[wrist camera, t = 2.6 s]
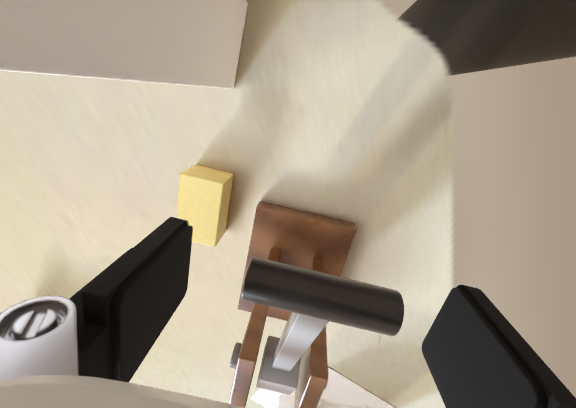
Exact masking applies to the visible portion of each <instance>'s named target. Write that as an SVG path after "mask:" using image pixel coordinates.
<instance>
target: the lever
mask: <svg viewBox="0 0 576 408" xmlns="http://www.w3.org/2000/svg"><path fill="white" fill-rule="evenodd" d="M241 299H242V300H244V301H248V302H252V303H256V304H260V305H264V306H269V307H273V308H277V309H281V310H285V311H289V312H292V313H291V315H290V317H289V319H288V322H287V324H286V326H285V329H284V331H283V333H282V335H281V338H277V337H273V336H269V337H268V339H267V343H266V346H265V349H264V354H263V358H262V363H261V367H260V372H259V377H258V381H257V387H258V388H262V389H266V390H270V391H274V392H278V393H282V394H286V395H290V394H291V393H292V392H293V391H295V390H296V389H297V385H298V378H299V370H300V363H301V357H302V355H303V354H304V353H305V351H306V350H307V349H308V348H309V346H310V345H311V344H312V342H313V341H314V340H315V339H316V337H317V336H318V335H319V333H320V332H321V331H322V330H323V328H324V327H325V326H326V324H327V323H328V322H329V321H331V322H335V323H339V324H343V325H347V326H352V327H356V328H360V329H364V330H368V331H372V332H377V333H381V334H385V335H389V336H394V335H396V334H397V333H398V332H399V330H400V328H401V325H402V322H403V316H404V304H403V299H402V296H401V294H400V293H399V292H398V291H396V290H393V289H389V288H384V287H380V286H376V285H372V284H368V283H363V282H359V281H355V280H351V279H347V278H343V277H338V276H334V275H330V274H326V273H322V272H317V271H313V270H309V269H305V268H301V267H297V266H292V265H288V264H284V263H280V262H276V261H271V260H267V259H263V258H259V257H255V256H254V257H252V259H251V261H250V263H249V266H248V269H247V273H246V276H245V280H244V284H243V289H242V295H241Z"/></svg>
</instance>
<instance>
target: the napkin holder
mask: <svg viewBox="0 0 576 408" xmlns="http://www.w3.org/2000/svg"><path fill="white" fill-rule="evenodd" d="M328 371H329V372H328V382H327V386H326V388H325V390H323V393H322V395H321V398H320V400H319V403H318V405H317V408H394V407H393V406H391V405H390V404H388V403H386V402H385V401H383V400H381V399H380V398H378V397H376V396H375V395H373V394H371V393H370V392H368V391H367V390H365V389H363V388H362V387H360V386H358V385H357V384H355V383H353V382H352V381H350V380H349V379H347V378H345V377H344V376H342V375H340V374H339V373H337V372H335V371H334V370H332V369H330V368H329V367H328ZM250 399H252V400H254V401H256V402H257V403H259V404H261V405H263V406H264V407H266V408H294V402H295V391H293V392H292V393H291V394H290V395H286V394H282V393H278V392H274V391H270V390H266V389H262V388H260V389H259V390H258V391H257V392H256V393H255V394H254V395H253V396H252V397H250Z"/></svg>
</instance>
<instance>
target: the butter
mask: <svg viewBox="0 0 576 408" xmlns="http://www.w3.org/2000/svg"><path fill="white" fill-rule="evenodd" d="M233 176H234V174H232V173H228V172H223V171H219V170H215V169H211V168H207V167H202V166H198V165H194V166H192V167H190V168H189V169H187V170H185V171H183V172H182V173H180V179H179V194H178V209H177V218H178V219H182V220H187V221H188V223H189V225H190V226H192V227H193V234H192V242H196V243H200V244H205V245H209V246H213V247H215V246H216V245H217V243H218V242H219V240H220V239H221V237H222V236H223V234H224V233H225V231H226V224H227V217H228V210H229V203H230V196H231V189H232V182H233Z"/></svg>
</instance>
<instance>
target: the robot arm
mask: <svg viewBox="0 0 576 408" xmlns="http://www.w3.org/2000/svg"><path fill="white" fill-rule="evenodd" d="M192 234H193V227H192V226H190V225H189V223H188V221H187V220H182V219H178V218H174V217H170V218H169V219H167V220H166V221H165V222H164V223H163V224H161V225H160V226H159V227H158V228H157V229H155V230H154V231H153V232H152V233H151V234H149V235H148V236H147V237H146V238H145V239H143V240H142V241H141V242H140V243H139V244H137V245H136V246H135V247H134V248H131V249H130V250H128V251H127V252H126V253H124V254H123V255H122V256H121V257H120V258H118V259H117V260H116V261H115V262H113V263H112V264H111V265H110V266H109V267H107V268H106V269H105V270H104V271H103V272H101V273H100V274H99V275H98V276H96V277H95V278H94V279H93V280H92V281H90V282H89V283H88V284H87V285H86V286H84V287H83V288H82V289H81V290H79V291H78V292H77V293H76V294H75V295H73V296H72V297H71V298H70V299H68V298H65V297H62V296H41V297H35V298H32V299H28V300H24V301H22V302H20V303H17V304H15V305H13V306H11V307H9V308H7V309H6V310H4V311H3V312H1V313H0V408H245V407H240V406H236V405H232V404H227V403H223V402H218V401H214V400H210V399H205V398H201V397H196V396H192V395H187V394H182V393H177V392H172V391H168V390H163V389H158V388H153V387H148V386H144V385H139V384H134V383H129V381H130V380H131V378H132V376H133V375H134V373H135V372H136V370H137V369H138V367H139V366H140V364H141V363H142V361H143V360H144V358H145V356H146V355H147V353H148V352H149V350H150V349H151V347H152V346H153V344H154V343H155V341H156V339H157V338H158V336H159V335H160V333H161V332H162V330H163V329H164V327H165V326H166V324H167V323H168V321H169V319H170V318H171V316H172V315H173V313H174V312H175V310H176V309H177V307H178V306H179V304H180V302H181V301H182V299H183V298H184V296H185V294H186V291H187V285H188V275H189V265H190V254H191V244H192ZM422 352H423V355H424V358H425V360H426V362H427V365H428V367H429V369H430V372H431V374H432V376H433V378H434V381H435V383H436V385H437V388H438V390H439V392H440V395H441V397H442V399H443V402H444V404H445V406H446V408H576V398H575V397H574V396H573V395H572V394H571V392H570V391H569V390H568V389H567V388H566V387H565V386H564V384H563V383H562V382H561V381H560V380H559V379H558V378H557V376H556V375H555V374H554V373H553V372H552V371H551V370H550V368H549V367H548V366H547V365H546V364H545V363H544V362H543V360H542V359H541V358H540V357H539V356H538V355H537V354H536V353H535V351H534V350H533V349H532V348H531V347H530V346H529V344H528V343H527V342H526V341H525V340H524V339H523V338H522V337H521V335H520V334H519V333H518V332H517V331H516V330H515V329H514V328H513V326H512V325H511V324H510V323H509V322H508V321H507V319H506V318H505V317H504V316H503V315H502V314H501V313H500V311H499V310H498V309H497V308H496V307H495V306H494V305H493V303H492V302H491V301H490V300H489V299H488V298H487V297H486V296H485V294H484V293H483V292H482V291H481V290H480V289H477V288H473V287H469V286H464V285H459V286H457V287H456V288H453V289H452V290H451V291H450V293H449V295H448V297H447V299H446V300H445V302H444V304H443V306H442V308H441V310H440V312H439V313H438V315H437V317H436V319H435V321H434V323H433V324H432V326H431V328H430V330H429V332H428V334H427V335H426V337H425V339H424V341H423V343H422Z"/></svg>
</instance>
